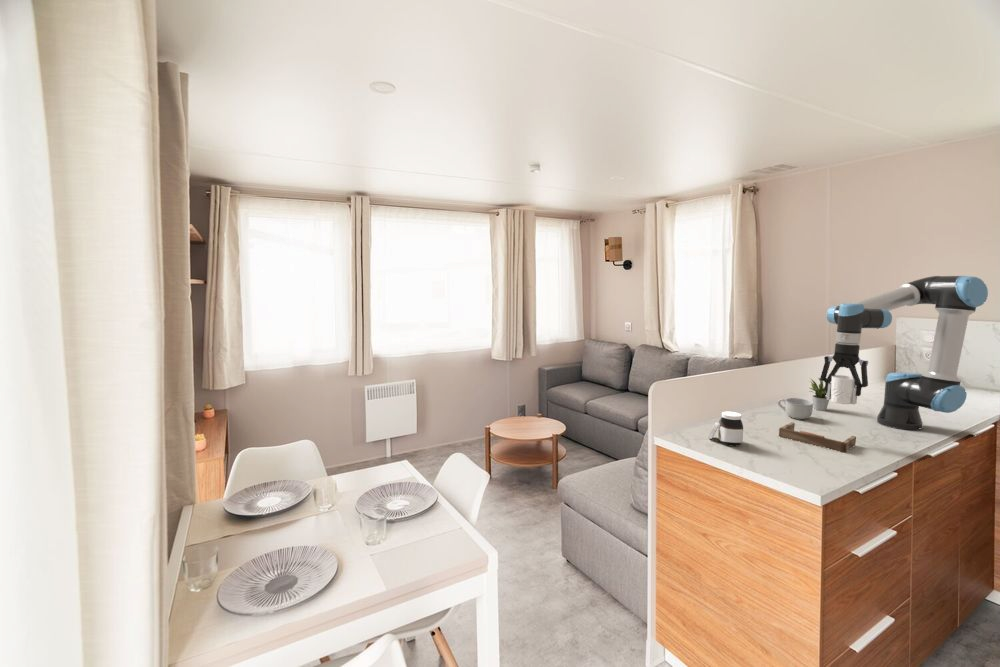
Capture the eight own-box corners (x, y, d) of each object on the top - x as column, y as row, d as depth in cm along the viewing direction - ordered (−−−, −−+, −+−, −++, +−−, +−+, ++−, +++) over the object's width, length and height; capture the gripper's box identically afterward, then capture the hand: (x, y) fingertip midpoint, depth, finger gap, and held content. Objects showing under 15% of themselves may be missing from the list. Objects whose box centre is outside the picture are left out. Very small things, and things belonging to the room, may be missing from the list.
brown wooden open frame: (790, 430, 197) (791, 420, 197) (855, 445, 180) (856, 435, 179) (778, 436, 190) (779, 426, 189) (844, 452, 172) (845, 442, 172)
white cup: (858, 405, 178) (861, 379, 177) (835, 404, 180) (837, 378, 179) (847, 400, 186) (850, 375, 185) (825, 399, 187) (827, 374, 186)
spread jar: (744, 448, 177) (746, 418, 176) (713, 446, 179) (715, 416, 177) (734, 437, 189) (736, 409, 188) (704, 435, 191) (706, 408, 189)
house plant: (842, 409, 229) (845, 376, 227) (839, 415, 218) (842, 381, 216) (807, 404, 238) (810, 372, 236) (803, 409, 228) (806, 376, 226)
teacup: (816, 418, 214) (817, 401, 213) (805, 422, 208) (806, 405, 207) (783, 411, 225) (785, 395, 224) (772, 415, 219) (773, 398, 218)
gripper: (813, 341, 186) (808, 397, 188) (878, 347, 170) (871, 409, 173) (820, 339, 190) (814, 394, 193) (883, 346, 175) (876, 405, 177)
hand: (841, 401), depth 183 cm, fingers closed on white cup, 8 cm apart
